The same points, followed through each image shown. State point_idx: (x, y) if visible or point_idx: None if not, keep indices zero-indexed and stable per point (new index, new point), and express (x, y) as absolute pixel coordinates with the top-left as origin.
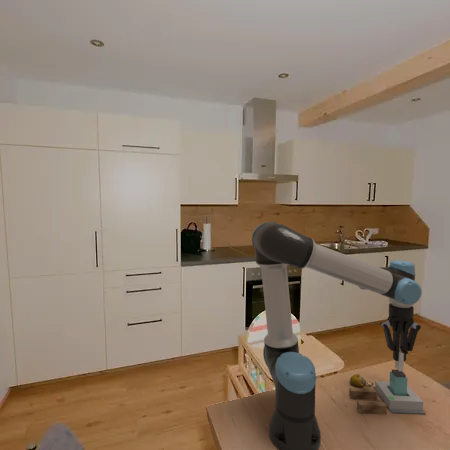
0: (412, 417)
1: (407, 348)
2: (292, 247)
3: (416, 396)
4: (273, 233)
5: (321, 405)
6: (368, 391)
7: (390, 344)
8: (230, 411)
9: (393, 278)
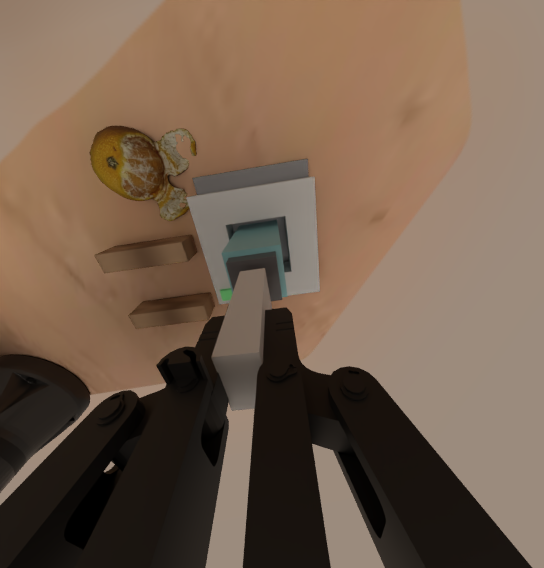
0: (275, 303)
1: (324, 440)
2: None
3: (311, 269)
4: None
5: (53, 305)
6: (160, 264)
7: (82, 546)
8: None
9: None
